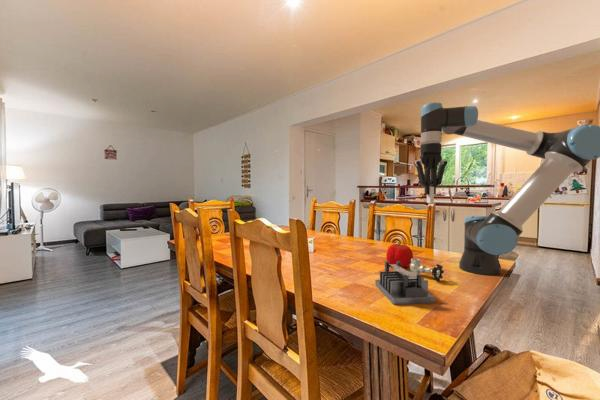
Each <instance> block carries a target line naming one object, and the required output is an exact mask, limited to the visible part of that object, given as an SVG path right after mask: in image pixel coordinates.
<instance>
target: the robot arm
mask: <svg viewBox="0 0 600 400" xmlns="http://www.w3.org/2000/svg"><path fill="white" fill-rule="evenodd" d="M420 114H421V115H420V144H421V145H420V157H419V159H418V160H416V161H414V162H413V164H414V166H415V167H416V171H417V177H418V180H419V185H421V186H423V187H424V195H426V203H427V204H434V203H435V201H434V198H435V195H436V193H437V187H438V186H440V185H441V184H442V180H443V176H444V173H445V169H446V166H447V165H448V161H447V160H444V159H443V157H442V142H443V141H442V139H443V137H442V136H443V133H444V134H445V135H456V136H462V137H466V138H471V139H474V140H479V141H482V142H486V143H489V144H494V145H498V146H502V147H506V148H507V147H508V148H511V149H514V150H519V151H523V152H525V153H526V155H528V156H531V157H536V158H539V159H544V161H543V163H542V164H540V165H539V167H537V169H536V170H535V171H534V172H533V173H532V174H531V175H530V176H529V178H528V179H527V180H526V181H525V182H524V183H523V184H522V185H521V186H520V187H519V188H518V190H516V192H515V193H514V194H513V195H512V196H511V197H510V198H509V199H508V201H506V203H505V204H504V205H502V207H501V208H500V209H499V210H497V211H492V212H490V214H488V215H487V216H485V215H484V216H482V215H477V216H476V215H474V216H473V215H471V216H470V215H469V216H466V217H465V219H464V223H463V225H464V234H463V236H464V237H463V238H464V241H463V242H464V244H463V245H464V247H463V248H464V249H463V252H462V255H461V257H460V260H459V264H458V265H459V267H458V268H459V269H460V270H462V271H464V272H469V273H472V274H478V275H490V276H492V275H493V276H494V275H500V274H502V265H501V264H500V260H499V259H500V258H499V257H498V256H503V255H507V254H509V253H511V252H513V251H514V250H515V249H516V247H517V244H518V238H519V236H521V235H522V233H523V232H524V230H523V226H524V224H525V223H526V221H528V220H529V219H530V218H531V217H532V216H533V214H534V213H536V212H537V210H538V209H539V208H540V207H541V206H542V205H543V204H544V203H545V202H546V201H547V200H548V198H550V196H552V194H553V193H554V192H555V191H556V190H557V189H558V188H560V186H561V185H562V184H564V182H565V180H567V179H568V178H569V177H570V176H571V174H573V173H579V172H581V171H582V170H583V169H584V168H586V167H587V165H588V164H589V163H591V161H592V160H597V159H599V158H600V125H597V124H596V125H595V124H584V125H582V124H581V125H578V126H574V127H573V128H570V129H566V130H563V131H560V132H546V131H540V130H539V131H537V132H533V131H528V130H525V129H520V128H516V127H515V128H514V127H512V126H506V125H501V124H497V123H492V122H488V121H483V120H480V119H478V118H479V109H478V107H477V106H475V105H466V106H465V105H464V106H454V107H443V103H441V102H429V103H425V104H424V105H422V106H421V113H420ZM422 165H423V166H422Z"/></svg>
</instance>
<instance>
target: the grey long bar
mask: <svg viewBox="0 0 600 400" xmlns="http://www.w3.org/2000/svg"><path fill="white" fill-rule="evenodd" d="M389 268H391V269H392V270H393V271H397V272H399V273H400V274H402V275H407V276H408V279H417V272H408V271H409V270H406V269H405V268H404V267H402V268H401V267H400V266H398V265H396V264H393V265H390V264H389Z"/></svg>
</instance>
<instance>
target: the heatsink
mask: <svg viewBox="0 0 600 400" xmlns="http://www.w3.org/2000/svg"><path fill="white" fill-rule="evenodd" d="M389 265H390V264H389V262H388V261H387V260H386V261H384V271H379V279H375V281H374V282H375V286H376V288H377V289H378V290H379V291H380V292H381V293H382V294H383V295H384V296H385V297H386V298H387V300H389V302H391V304H392V305H395V306H396V305H420V304H421V305H423V304H435V302H436V298H435V297H436V296H434V295H433V294H432V293H430V291H429V280H428V279H425V278H424V277H423V275H422V274H421V273H420V274H417V279H408V276H407V275H402V274H400V273H399V272H397V271H396V270H392V271H391V270H390V267H389ZM396 265H398V266H400V267H401V262H400V261H396ZM407 271H408V272H414V271H411V270H407Z"/></svg>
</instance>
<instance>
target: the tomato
mask: <svg viewBox="0 0 600 400" xmlns="http://www.w3.org/2000/svg"><path fill="white" fill-rule="evenodd" d="M413 254H414V252H413V251H412V249H411V248H410V247H409V245H407V244H400V243H391V245H389V247H388V248H387V251H386V258H385V259H386V261H388V262H389V265H393V264H396V261H400V262H401V268H406V267H408V266H409V267H410V264H411V259H412V258H414V255H413Z"/></svg>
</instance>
